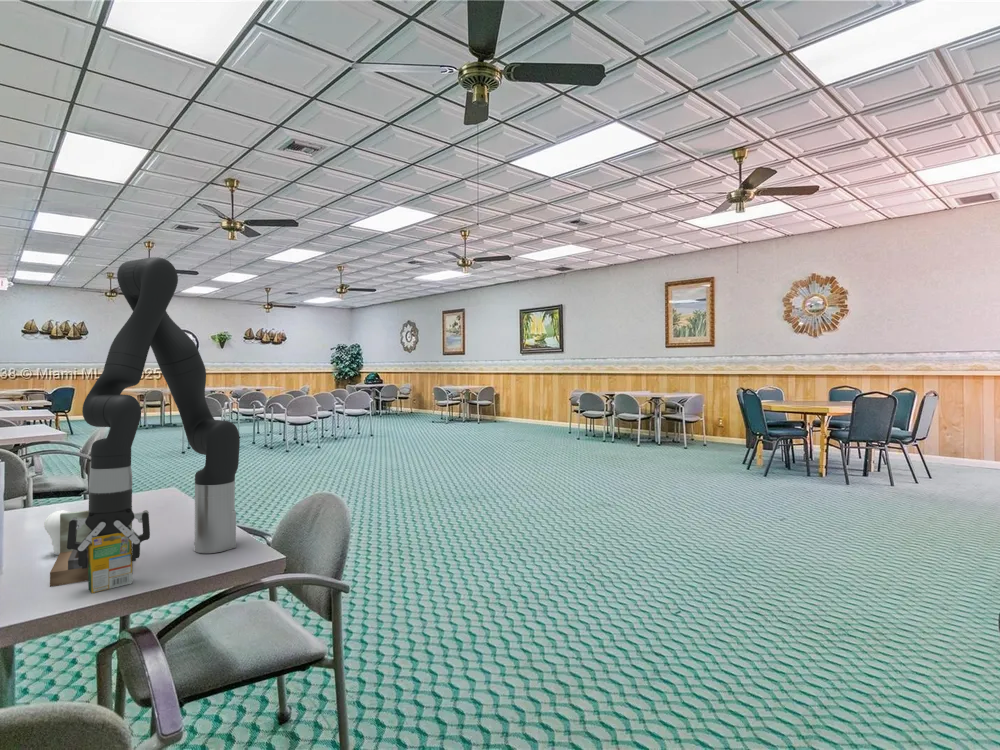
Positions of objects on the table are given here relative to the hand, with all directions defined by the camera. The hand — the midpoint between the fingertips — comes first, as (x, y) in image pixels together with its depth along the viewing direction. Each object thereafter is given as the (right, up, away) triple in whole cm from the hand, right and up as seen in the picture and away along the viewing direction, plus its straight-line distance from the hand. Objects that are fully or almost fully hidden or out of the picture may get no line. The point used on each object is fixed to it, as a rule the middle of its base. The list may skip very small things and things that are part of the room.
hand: (109, 564), depth 116 cm
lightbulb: (-26, -5, +19) cm, 33 cm away
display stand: (-11, -5, +10) cm, 16 cm away
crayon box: (0, -5, 0) cm, 5 cm away
